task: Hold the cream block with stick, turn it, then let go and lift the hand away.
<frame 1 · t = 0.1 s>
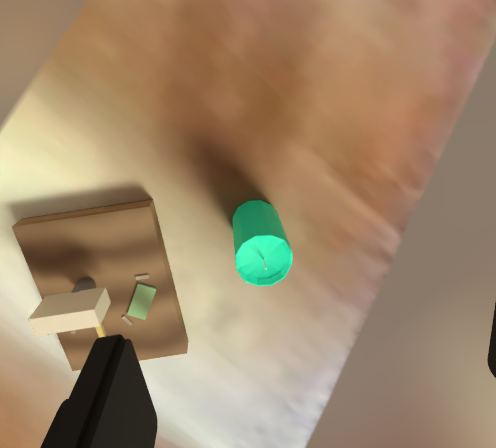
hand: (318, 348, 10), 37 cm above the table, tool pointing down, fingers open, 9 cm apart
candle: (255, 221, 48), on the table
cream block with stick: (86, 329, 45), point 6 cm above the table, hinge at 0.0°
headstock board: (112, 285, 50), on the table
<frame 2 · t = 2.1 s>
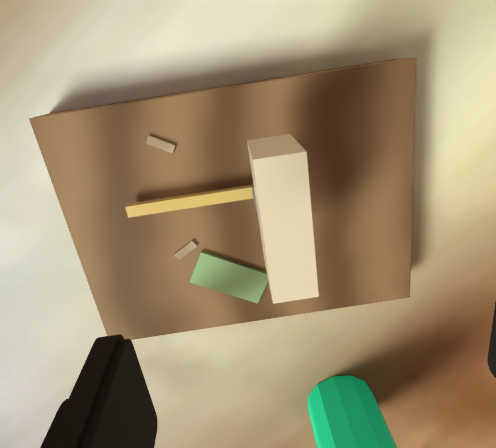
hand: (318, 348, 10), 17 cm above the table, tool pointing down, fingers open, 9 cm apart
candle: (339, 398, 34), on the table
cream block with stick: (206, 217, 20), point 6 cm above the table, hinge at 0.0°
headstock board: (241, 205, 27), on the table
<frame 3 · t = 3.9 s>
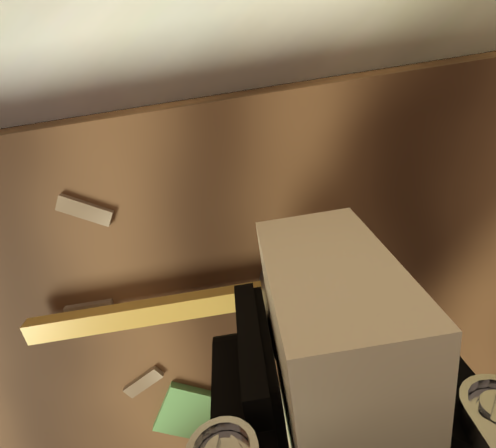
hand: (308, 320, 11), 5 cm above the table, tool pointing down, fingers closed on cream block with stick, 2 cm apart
cream block with stick: (169, 381, 9), point 6 cm above the table, hinge at 0.0°, touching gripper
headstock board: (240, 292, 16), on the table
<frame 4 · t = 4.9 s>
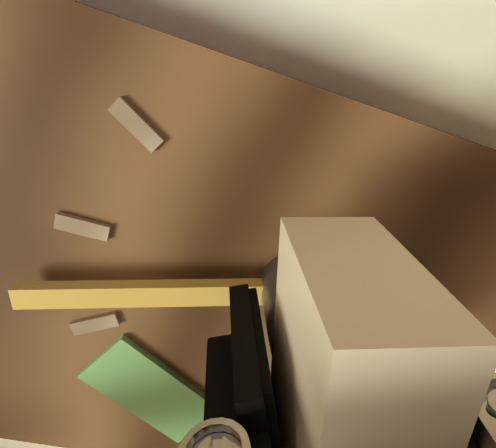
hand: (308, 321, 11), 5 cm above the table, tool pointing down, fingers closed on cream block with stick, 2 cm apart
cream block with stick: (166, 364, 9), point 6 cm above the table, hinge at 16.6°, touching gripper
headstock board: (220, 275, 16), on the table
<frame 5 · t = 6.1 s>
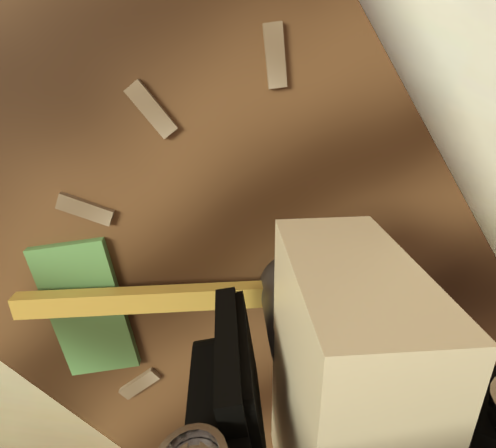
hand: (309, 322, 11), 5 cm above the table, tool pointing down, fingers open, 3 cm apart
cream block with stick: (165, 371, 9), point 6 cm above the table, hinge at 53.8°
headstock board: (211, 239, 15), on the table
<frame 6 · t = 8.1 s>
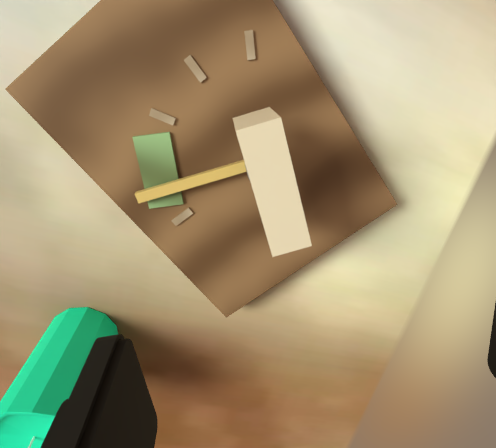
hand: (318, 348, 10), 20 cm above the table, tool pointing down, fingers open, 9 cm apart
candle: (85, 333, 34), on the table
cream block with stick: (206, 191, 22), point 6 cm above the table, hinge at 69.3°
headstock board: (220, 144, 28), on the table
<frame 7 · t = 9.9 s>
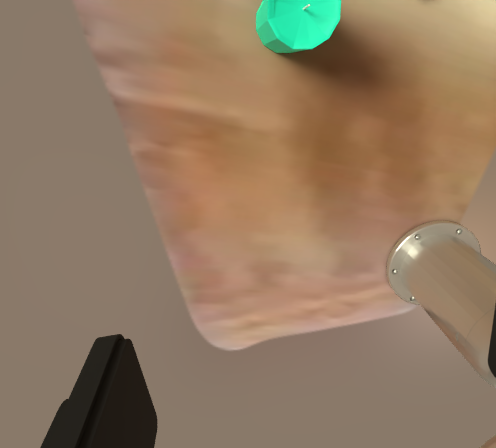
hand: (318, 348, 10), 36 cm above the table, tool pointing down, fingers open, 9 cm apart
candle: (283, 22, 39), on the table
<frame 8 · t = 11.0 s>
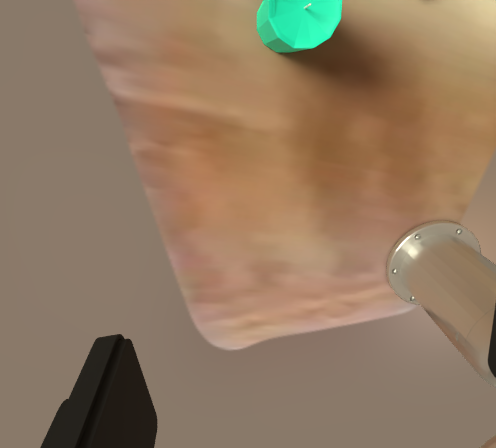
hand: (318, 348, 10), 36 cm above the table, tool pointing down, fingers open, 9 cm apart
candle: (284, 21, 39), on the table
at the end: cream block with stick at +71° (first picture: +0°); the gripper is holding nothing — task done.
